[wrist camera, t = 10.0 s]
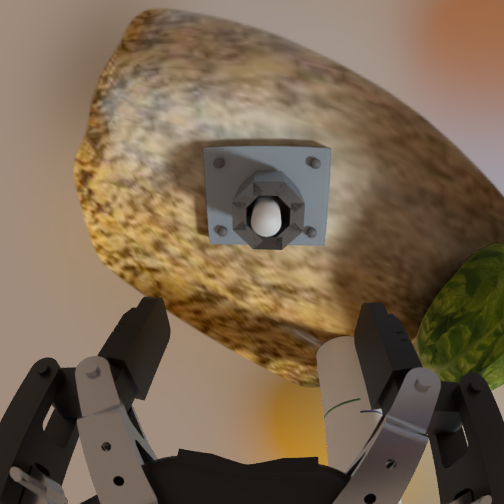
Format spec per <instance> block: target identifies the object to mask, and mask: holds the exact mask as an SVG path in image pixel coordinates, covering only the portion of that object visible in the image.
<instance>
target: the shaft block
mask: <svg viewBox="0 0 504 504" xmlns="http://www.w3.org/2000/svg"><path fill="white" fill-rule="evenodd" d="M203 155H204V173H205V189H206V204H207V217H208V230H209V242H210V244H244V245H248V244H247V243H246V242H245V241H244V240H243V239H242V238H241V237H240V236H239V235H237V234H236V233H235V232H234V231H233V224H232V201H233V198H234V196H235V194H236V192H237V190H238V188H239V187H240V186H241V185H242V184H243V183H244V182H245V181H246V180H247V179H248V178H249V177H250V176H251V175H252V174H253V173H254V172H255V171H256V170H266V171H282V172H283V173H284V174H285V175H286V176H287V177H288V178H289V179H290V180H291V181H292V182H293V183H294V184H295V185H296V186H297V187H298V188H299V190H300V193H301V195H302V197H303V200H304V202H305V213H304V228H303V232H302V233H301V234H300V235H299V236H297V237H296V238H295V239H294V240H293V241H292V242H290V243H289V244H288V245H316V246H324V245H325V235H326V225H327V213H328V199H329V184H330V165H331V148H328V147H314V146H288V145H238V146H212V147H205V148H203ZM251 207H252V208H253V214H252V219H251V226H252V229H253V230H254V231H255V233H257V234H258V235H260V236H264V237H269V236H272V235H274V234H276V233H277V232H278V231H279V229H280V227H281V214H280V212H282V211H283V210H284V209H285V208H286V204H285V203H284V202H283V201H282V200H281V199H280V197H279V196H260V195H259V196H258V197H257V198H256V199H255V200H254V201H253V202H252V203H251Z"/></svg>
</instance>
